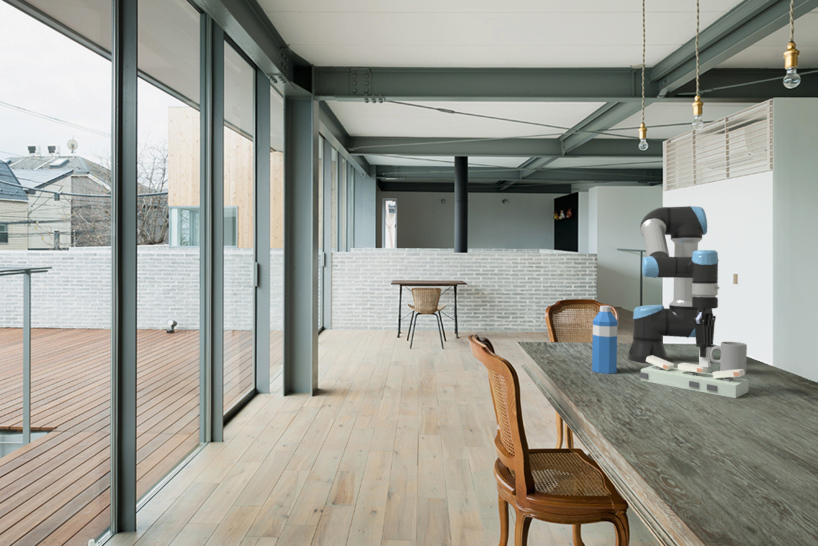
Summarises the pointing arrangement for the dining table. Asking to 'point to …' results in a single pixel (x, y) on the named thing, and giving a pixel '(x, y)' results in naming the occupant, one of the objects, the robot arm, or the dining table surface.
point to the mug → (731, 355)
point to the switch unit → (695, 381)
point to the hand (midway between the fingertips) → (704, 366)
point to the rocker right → (728, 373)
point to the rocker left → (659, 362)
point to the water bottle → (604, 342)
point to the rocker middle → (692, 368)
